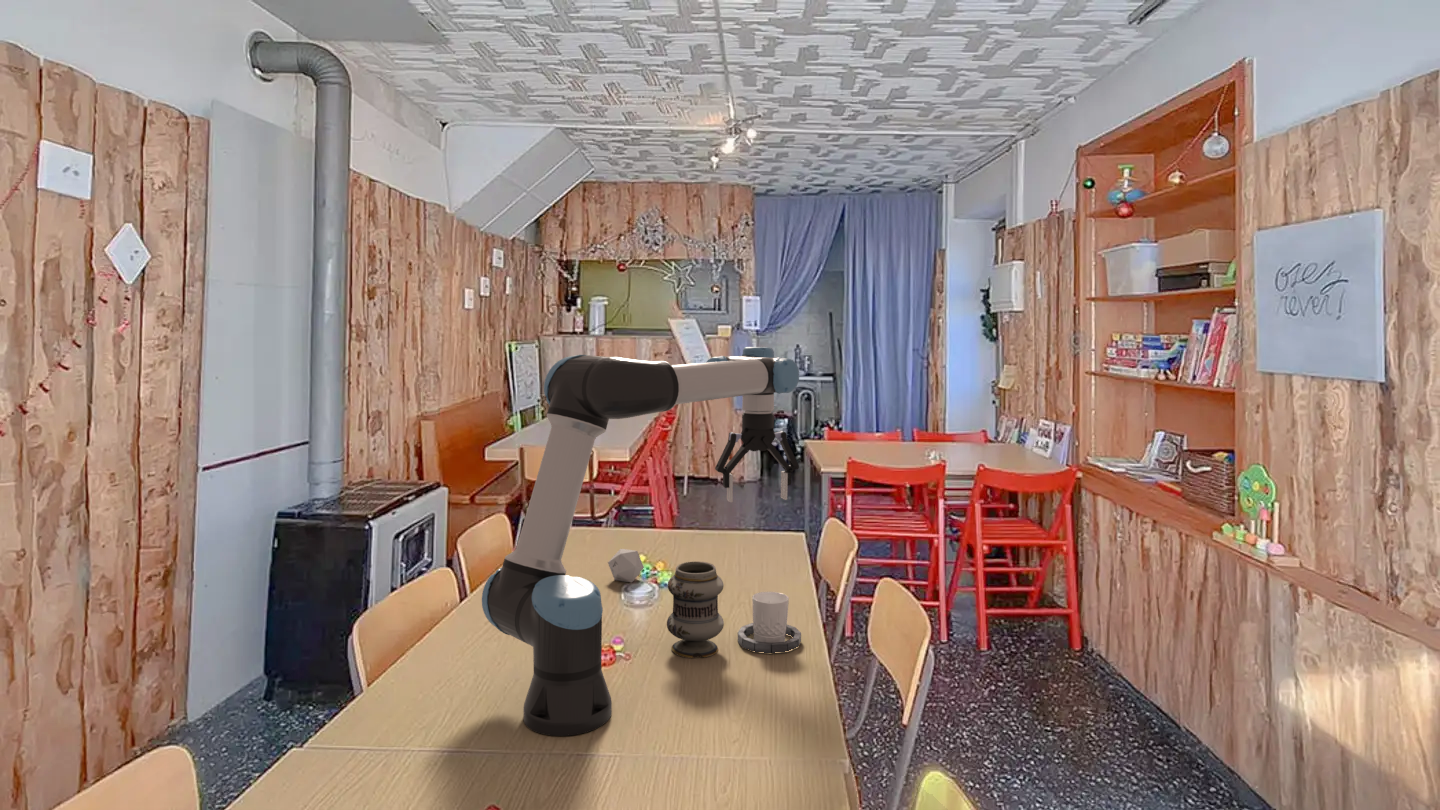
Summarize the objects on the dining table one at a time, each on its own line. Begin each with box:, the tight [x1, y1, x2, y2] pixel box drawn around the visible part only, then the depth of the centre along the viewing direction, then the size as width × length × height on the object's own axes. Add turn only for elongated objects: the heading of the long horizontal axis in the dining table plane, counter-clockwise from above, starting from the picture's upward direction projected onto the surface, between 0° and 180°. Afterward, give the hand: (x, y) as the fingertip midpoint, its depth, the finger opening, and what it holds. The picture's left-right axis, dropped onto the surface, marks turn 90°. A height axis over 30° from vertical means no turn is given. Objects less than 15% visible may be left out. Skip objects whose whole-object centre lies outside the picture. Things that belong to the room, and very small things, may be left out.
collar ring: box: [737, 622, 802, 654], centre depth 174 cm, size 13×13×2 cm
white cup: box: [751, 591, 790, 643], centre depth 173 cm, size 8×8×10 cm
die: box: [607, 548, 645, 583], centre depth 217 cm, size 8×9×10 cm
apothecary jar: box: [666, 560, 725, 659], centre depth 169 cm, size 12×12×18 cm
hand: (757, 500), depth 192 cm, fingers open, 13 cm apart
